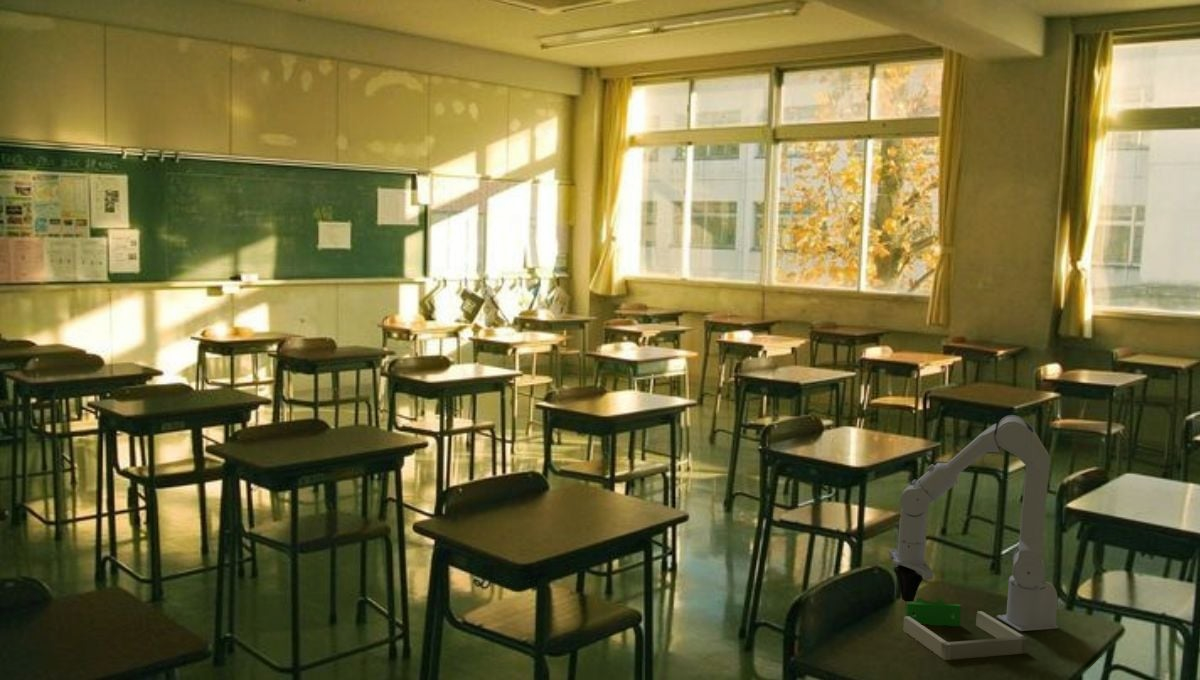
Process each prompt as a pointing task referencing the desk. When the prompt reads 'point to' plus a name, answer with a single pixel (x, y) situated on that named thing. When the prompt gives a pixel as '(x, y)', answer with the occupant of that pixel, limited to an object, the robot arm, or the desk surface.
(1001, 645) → the docking bay
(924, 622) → the green flat block
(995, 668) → the desk surface
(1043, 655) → the desk surface
